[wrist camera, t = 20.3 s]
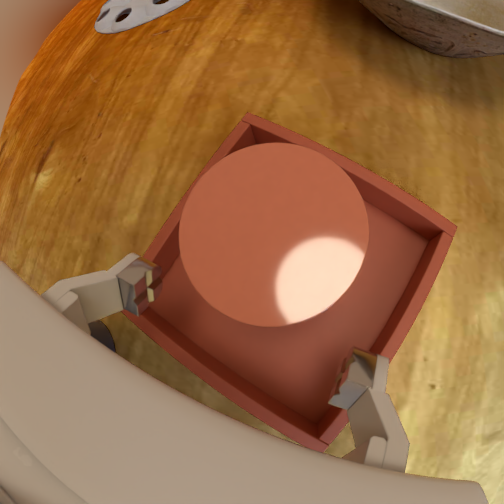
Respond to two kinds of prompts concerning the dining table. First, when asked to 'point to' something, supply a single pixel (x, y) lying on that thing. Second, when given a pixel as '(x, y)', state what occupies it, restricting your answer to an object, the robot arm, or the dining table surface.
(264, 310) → the terracotta canister
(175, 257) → the rust tray
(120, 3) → the grey disc with holes
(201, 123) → the dining table surface
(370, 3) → the bowl
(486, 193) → the dining table surface
